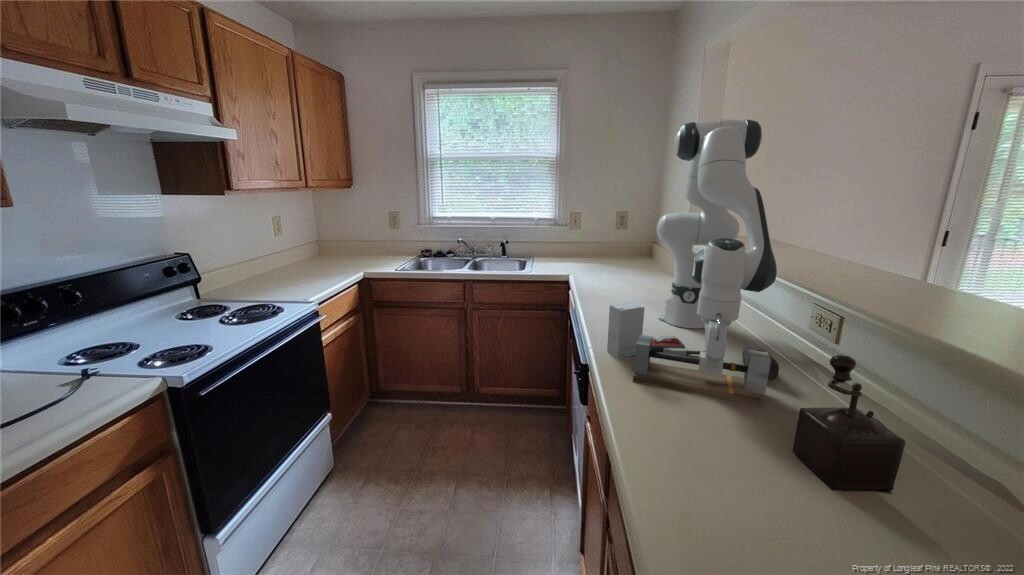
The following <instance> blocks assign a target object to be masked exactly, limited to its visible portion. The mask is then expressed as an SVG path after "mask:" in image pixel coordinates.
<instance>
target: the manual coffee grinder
mask: <svg viewBox="0 0 1024 575" xmlns="http://www.w3.org/2000/svg"><path fill="white" fill-rule="evenodd" d="M829 365H830V366H831V367H832V368H833V371H834V374H833V375H832V380H829V381H828V382H827V387H828V388H830V389H831V390H834V391H836V392H838V393H840V394H843V395H845V396H851V397H850V402H849V405H848V407H800V409H799V412H798V418H797V421H796V422H797V423H796V428H795V436H794V442H793V448H792V452H793V454H794V455H795V457H796V458H797V459H798V460H799V461H800V462H801V463H802V464H803V465H804V466H805V467H806V468H807V469H809V471H810V470H811V471H810V472H811V473H812V474H813V473H814V476H815V477H817V478H818V479H819V480H820V481H821V482H823V483H824V484H825V485H826V486H827V487H828V488H829V489H830V490H831V491H841V492H891V491H893V490H894V489H895V488H894V486H895V482H896V479H897V475H898V472H899V468H900V465H901V462H902V457H903V453H904V449H905V447H906V440H905V439H903V438H902V437H901V436H900V435H898V434H896V433H895V432H893V431H892V430H890V429H889V428H887V426H886V424H885V425H884V423H882V422H881V421H880V420H878V419H877V418H876V417H874V415H875V413H874V412H873V411H872V410H869V411H867V412H866V413H864V412H863V411H862V410H860V409H858V408H857V407H858V401H859V398H860V397H862V392H861V391H862V390H863V386H862V384H861V383H858V382H854V383H852V384H851V387H852V389H851V390H848V389H845V388H842V386H841V387H840V386H838V384H840V383H841V384H844V383H846V382H851V381H852V379H853V378H852V377H851V373H852V372H853V370H854V369H855V368H856V367H857V362H856V359H855V358H853V357H851V356H850V355H845V354H837V355H834V356H831V358H830V359H829Z"/></svg>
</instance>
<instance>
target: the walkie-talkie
mask: <svg viewBox="0 0 1024 575" xmlns="http://www.w3.org/2000/svg"><path fill="white" fill-rule="evenodd" d="M651 351H655V352H662V353H668V354H674V355H681V356H690V355H700V351H702V352H705V350H688V349H686V346H685V344H684V343H683V342H682V341H681V340H679V339H678V337H677V336H676V335H661V336H659V337H658V338H656V337H655V336H652V342H651Z"/></svg>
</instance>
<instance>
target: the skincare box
mask: <svg viewBox="0 0 1024 575" xmlns="http://www.w3.org/2000/svg"><path fill="white" fill-rule="evenodd" d="M645 309H646V308H645V306H643V305H641V304H638V303H636V302H635V301H627V302H621V303H615V304H614V303H613V304H609V309H608V310H609V312H608V327H607V328H608V329H607V345H606V346H607V348H606V350H607V352H608V353H610V354H611V355H613V357H615V358H616V359H621V358H627V357H632V356H636V345H637V341H638V339H639V336H640V335H643V333H644V332H643V331H644V316H645Z"/></svg>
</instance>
